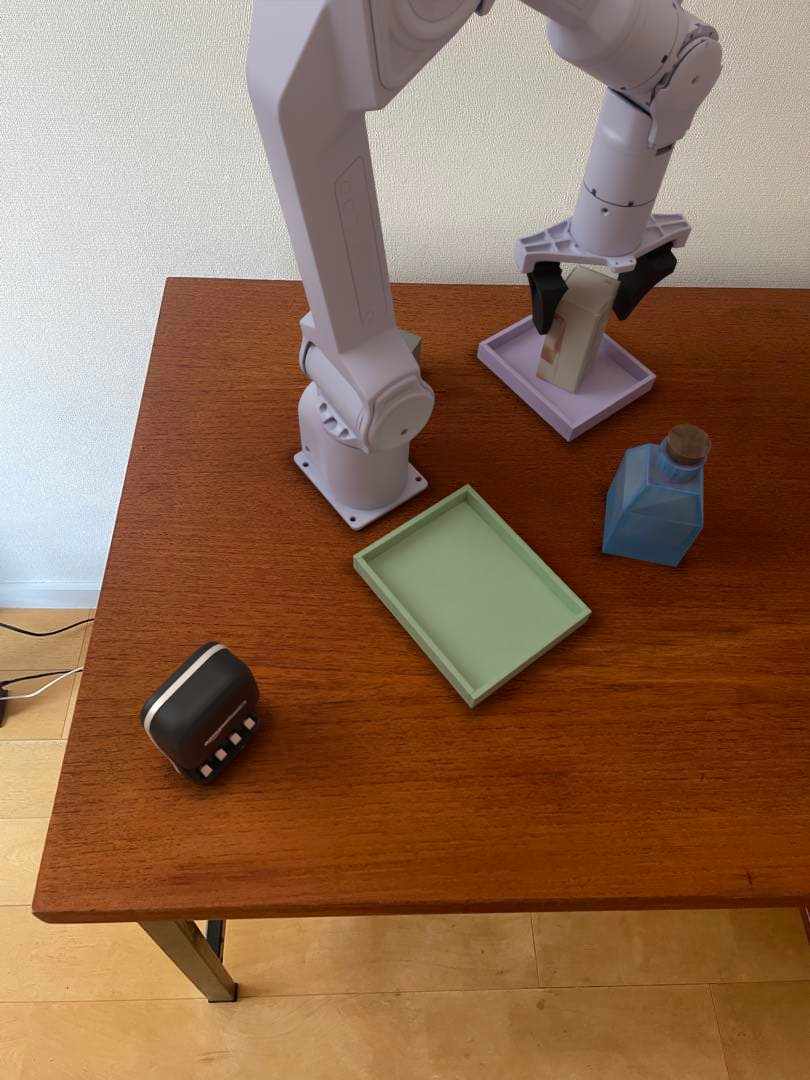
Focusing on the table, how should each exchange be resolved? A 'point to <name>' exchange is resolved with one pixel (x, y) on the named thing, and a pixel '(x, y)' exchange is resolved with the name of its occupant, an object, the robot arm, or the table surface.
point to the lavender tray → (567, 413)
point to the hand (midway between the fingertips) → (579, 320)
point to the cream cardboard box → (577, 328)
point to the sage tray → (470, 593)
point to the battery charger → (204, 713)
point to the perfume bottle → (658, 498)
